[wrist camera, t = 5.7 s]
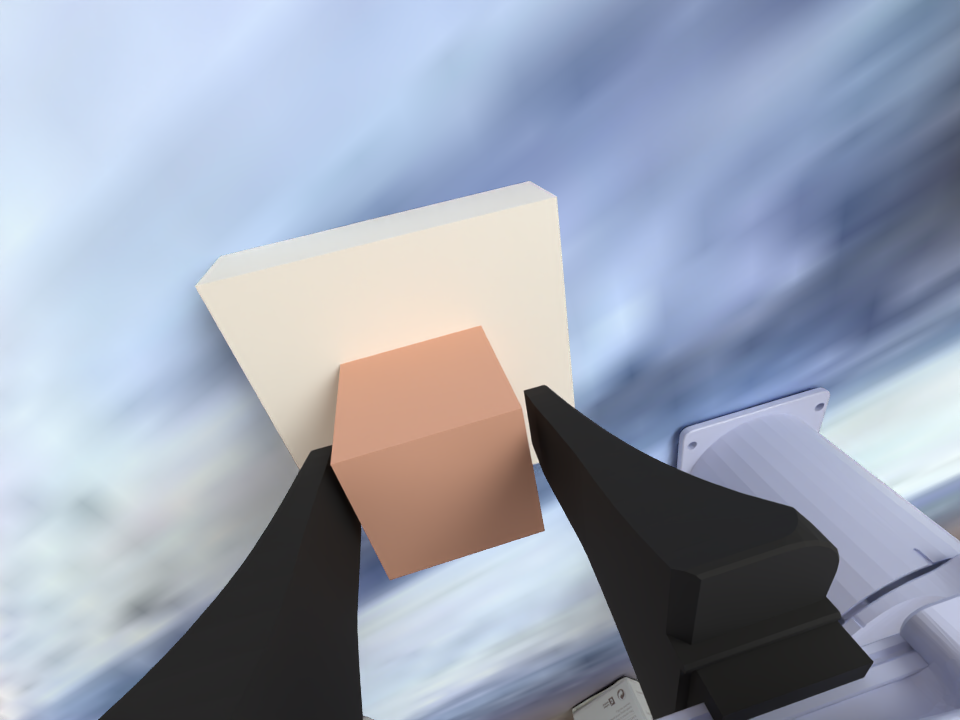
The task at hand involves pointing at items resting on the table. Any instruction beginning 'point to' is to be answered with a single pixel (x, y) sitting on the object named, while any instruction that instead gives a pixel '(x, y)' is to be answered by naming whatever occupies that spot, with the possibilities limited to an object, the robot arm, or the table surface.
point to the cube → (434, 452)
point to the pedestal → (395, 301)
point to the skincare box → (615, 703)
